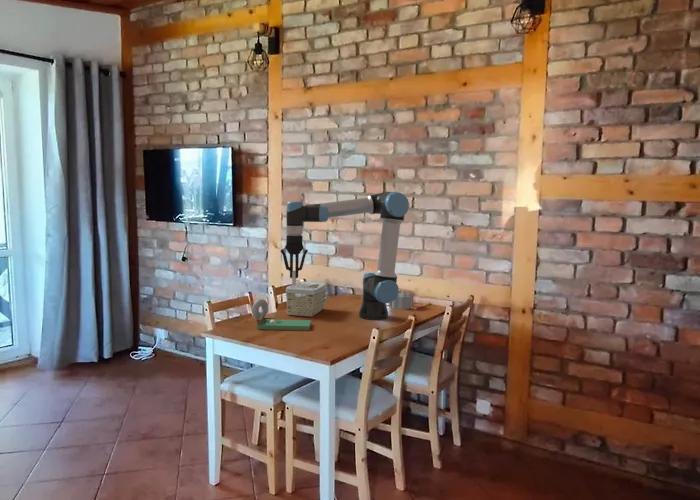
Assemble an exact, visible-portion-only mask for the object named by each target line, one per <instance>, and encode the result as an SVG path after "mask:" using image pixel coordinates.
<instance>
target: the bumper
mask: <svg viewBox="0 0 700 500" xmlns="http://www.w3.org/2000/svg"><path fill="white" fill-rule="evenodd" d="M265 317H266V316H265V314H261V315H260V317H259V318H258V319H257V320H256V321H257V325H261V324H262V322H263V321H264V319H265ZM257 325H256V326H257Z"/></svg>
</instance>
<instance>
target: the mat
mask: <svg viewBox="0 0 700 500" xmlns="http://www.w3.org/2000/svg"><path fill="white" fill-rule="evenodd" d="M271 320H275V321H276V323H269V322H270V321H271ZM256 326H257V327H256V329H257V330H270V331H271V330H274V331H276V330H277V331H279V330H280V331H281V330H283V331H310V330H311V326H312V319H311V320H310V319H270V318H266V319H264V321H263V322H262V324H261V325H256Z"/></svg>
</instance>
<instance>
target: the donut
mask: <svg viewBox="0 0 700 500" xmlns="http://www.w3.org/2000/svg"><path fill="white" fill-rule="evenodd" d="M260 307H261V309H260ZM268 311H269V304H268V302H267V301H266V300H265V299H263V298H259V299H257V300H255V301H254V303H253V305H252V308H251V313H252V316H253V317H254V318H255V319H257V320H258V318H259V317H260V315H261V314H265V317H266V316H267V314H268Z"/></svg>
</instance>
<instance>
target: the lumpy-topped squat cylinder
mask: <svg viewBox="0 0 700 500" xmlns="http://www.w3.org/2000/svg"><path fill="white" fill-rule="evenodd" d="M411 307H414V294H413V293H411V292H410V291H405V290H403V291H401V292H400V291H399V293H398V296H397V298H396V299H395V300H394V301H392V302H391V308H392V309H396V310H401V309H408V310H410V309H409V308H411ZM411 309H412V308H411Z"/></svg>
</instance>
